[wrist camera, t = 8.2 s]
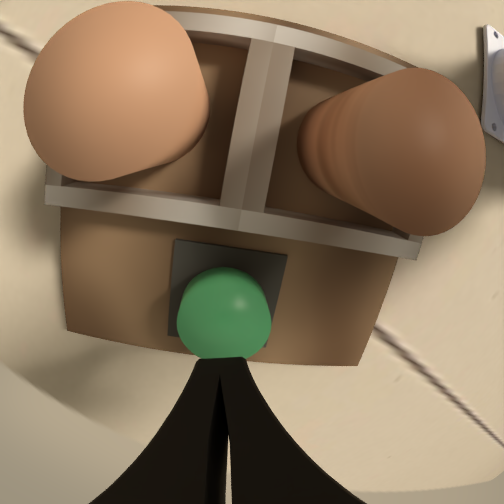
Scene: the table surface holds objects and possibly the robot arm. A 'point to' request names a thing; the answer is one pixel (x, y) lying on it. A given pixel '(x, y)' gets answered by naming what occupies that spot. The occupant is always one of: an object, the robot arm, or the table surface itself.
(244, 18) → the wooden peg sorting tray
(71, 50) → the tan rounded peg
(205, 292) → the button
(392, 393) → the table surface
